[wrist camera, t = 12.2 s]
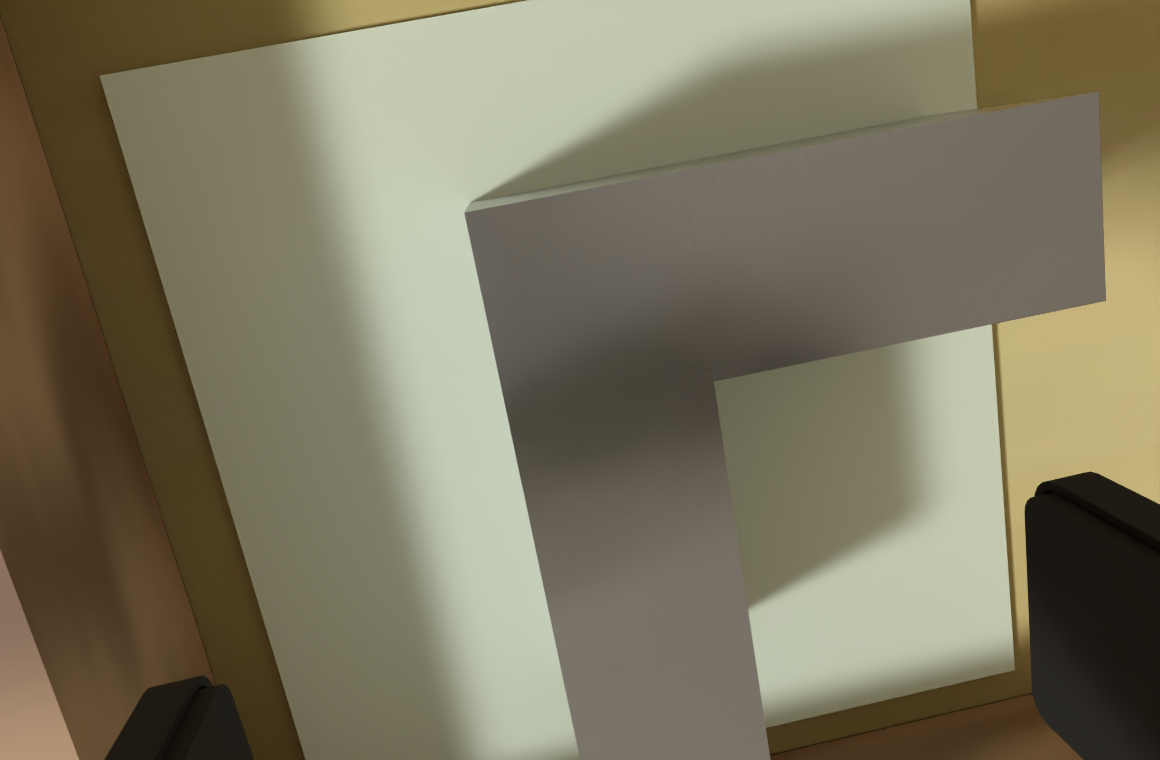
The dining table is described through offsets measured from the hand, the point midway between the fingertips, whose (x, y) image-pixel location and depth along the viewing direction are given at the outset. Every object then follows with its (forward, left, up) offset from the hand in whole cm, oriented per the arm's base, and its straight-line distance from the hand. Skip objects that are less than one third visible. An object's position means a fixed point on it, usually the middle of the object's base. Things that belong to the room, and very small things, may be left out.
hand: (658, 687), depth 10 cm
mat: (-1, +1, -8) cm, 8 cm away
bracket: (0, +3, -8) cm, 9 cm away
